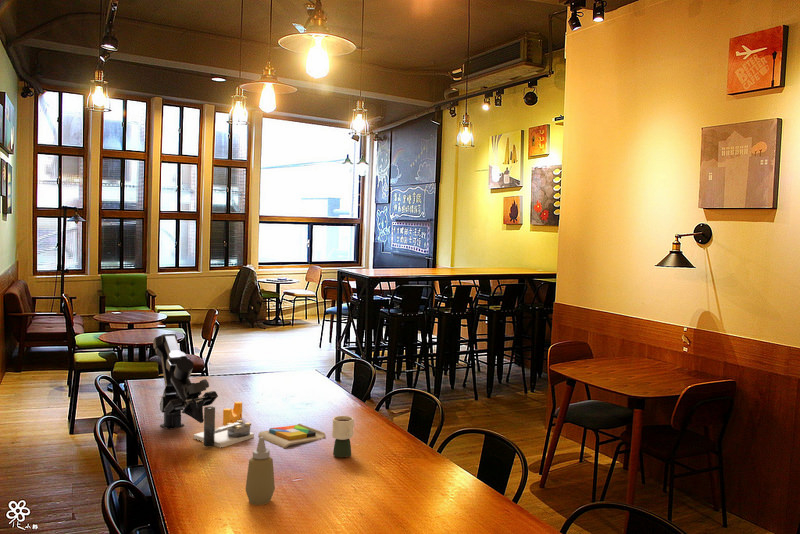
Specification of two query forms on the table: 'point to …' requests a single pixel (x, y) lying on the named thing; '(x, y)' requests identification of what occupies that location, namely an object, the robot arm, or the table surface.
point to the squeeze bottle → (260, 476)
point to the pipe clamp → (232, 413)
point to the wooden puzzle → (291, 435)
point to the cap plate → (223, 438)
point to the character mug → (342, 435)
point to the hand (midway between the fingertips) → (202, 422)
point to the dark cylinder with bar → (232, 428)
